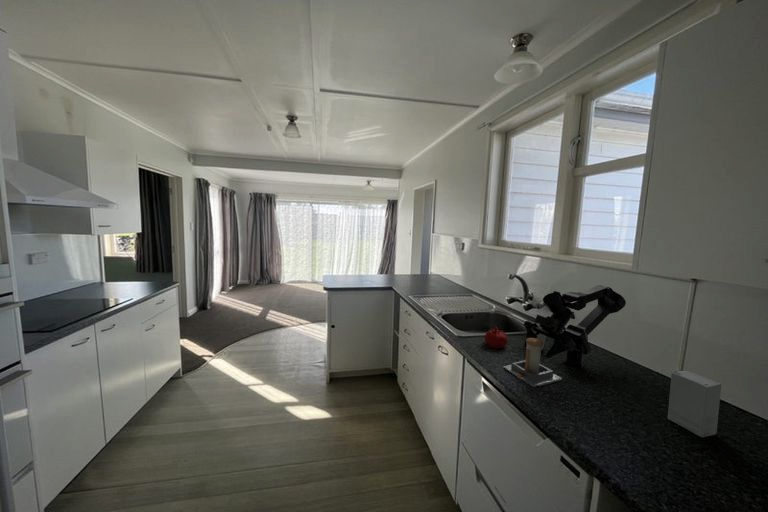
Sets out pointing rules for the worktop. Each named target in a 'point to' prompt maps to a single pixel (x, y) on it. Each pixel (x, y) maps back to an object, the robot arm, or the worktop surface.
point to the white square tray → (537, 379)
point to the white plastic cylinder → (533, 355)
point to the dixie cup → (541, 337)
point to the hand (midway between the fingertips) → (535, 352)
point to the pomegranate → (496, 338)
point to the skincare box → (694, 403)
